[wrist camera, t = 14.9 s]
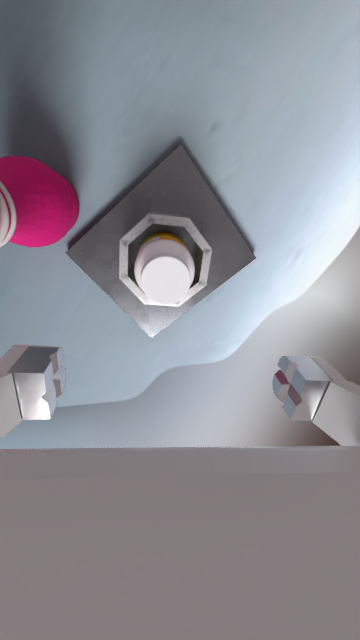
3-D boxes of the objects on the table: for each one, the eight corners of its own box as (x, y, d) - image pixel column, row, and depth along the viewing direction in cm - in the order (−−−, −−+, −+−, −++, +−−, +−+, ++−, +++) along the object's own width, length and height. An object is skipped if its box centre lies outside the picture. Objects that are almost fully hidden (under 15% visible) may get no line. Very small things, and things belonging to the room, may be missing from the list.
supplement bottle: (196, 261, 30) (212, 289, 21) (157, 287, 31) (158, 324, 22) (169, 219, 27) (175, 231, 19) (128, 249, 28) (116, 273, 20)
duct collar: (151, 334, 34) (151, 355, 30) (68, 251, 29) (52, 261, 24) (253, 256, 31) (269, 266, 26) (180, 145, 25) (185, 134, 21)
